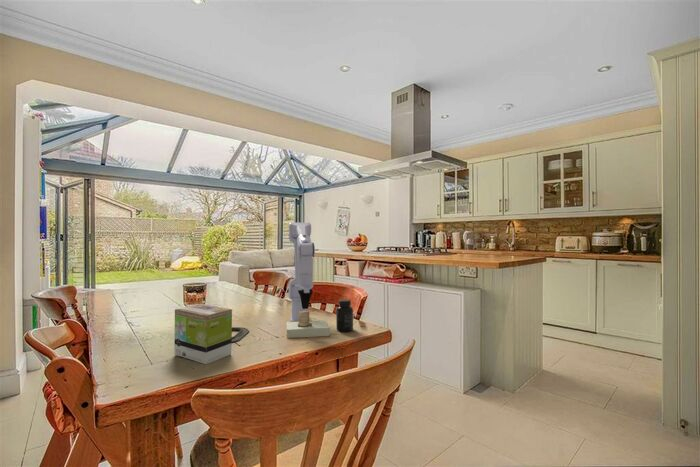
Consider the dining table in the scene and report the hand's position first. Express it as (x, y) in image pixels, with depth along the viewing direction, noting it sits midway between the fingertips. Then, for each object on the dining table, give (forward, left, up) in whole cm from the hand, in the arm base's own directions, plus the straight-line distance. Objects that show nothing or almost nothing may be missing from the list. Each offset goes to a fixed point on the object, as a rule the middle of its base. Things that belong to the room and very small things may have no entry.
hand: (305, 308), depth 129 cm
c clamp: (0, -31, -10) cm, 32 cm away
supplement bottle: (-1, +16, -10) cm, 19 cm away
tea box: (+19, -33, -10) cm, 39 cm away
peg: (0, 0, -9) cm, 9 cm away
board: (0, +1, -9) cm, 9 cm away
